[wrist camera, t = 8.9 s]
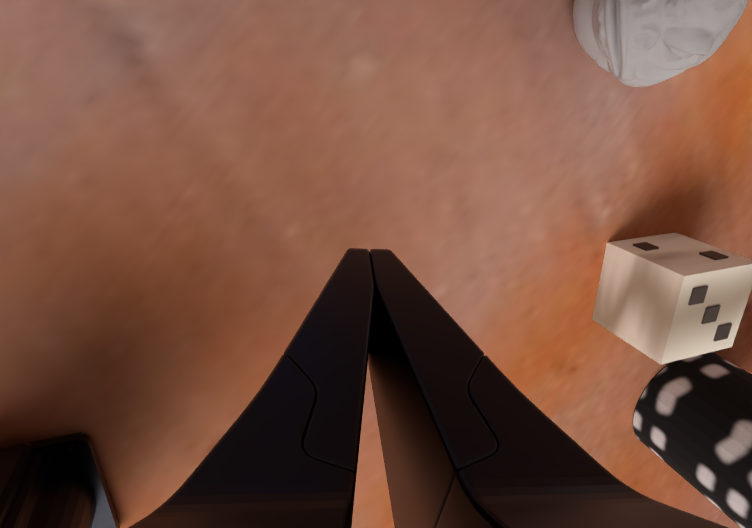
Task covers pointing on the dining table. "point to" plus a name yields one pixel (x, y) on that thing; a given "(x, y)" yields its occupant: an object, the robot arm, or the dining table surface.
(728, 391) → the white-spotted black cylinder
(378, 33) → the dining table surface
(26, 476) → the robot arm
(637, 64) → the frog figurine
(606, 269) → the birch pip block
